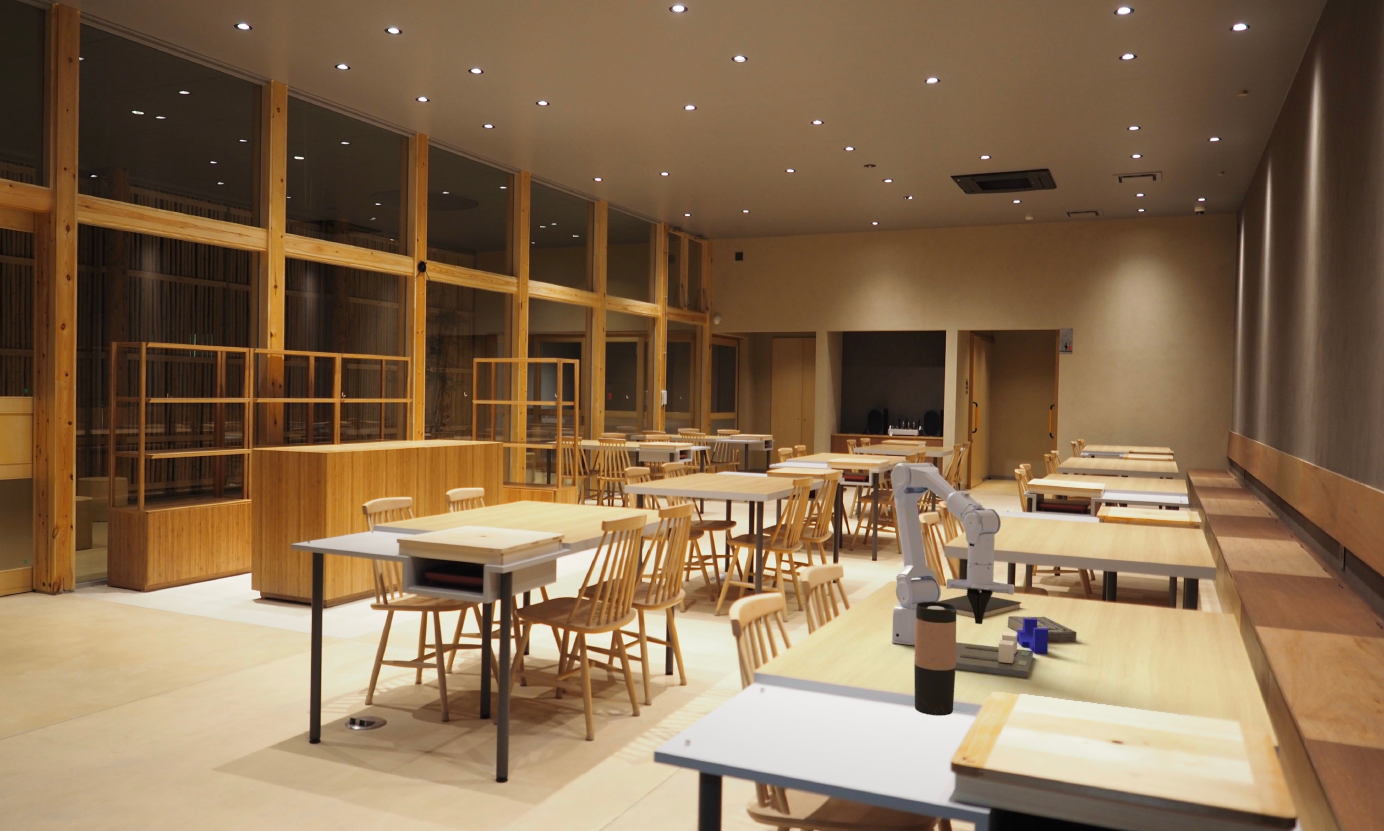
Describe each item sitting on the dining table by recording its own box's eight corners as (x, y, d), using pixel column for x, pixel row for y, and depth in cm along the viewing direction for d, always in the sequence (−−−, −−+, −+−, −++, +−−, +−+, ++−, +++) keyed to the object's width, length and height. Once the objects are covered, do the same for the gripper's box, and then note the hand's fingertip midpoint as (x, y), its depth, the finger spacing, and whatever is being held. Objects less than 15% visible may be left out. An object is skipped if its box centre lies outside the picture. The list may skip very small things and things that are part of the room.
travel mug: (908, 703, 189) (910, 601, 189) (946, 703, 190) (948, 601, 190) (920, 716, 182) (923, 610, 181) (960, 716, 182) (963, 610, 182)
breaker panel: (941, 667, 216) (942, 660, 215) (953, 648, 233) (953, 641, 233) (1027, 678, 209) (1027, 670, 208) (1032, 657, 226) (1033, 650, 226)
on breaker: (1001, 652, 223) (1002, 635, 223) (1003, 648, 227) (1003, 631, 227) (1015, 653, 222) (1015, 636, 222) (1016, 649, 226) (1017, 632, 226)
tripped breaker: (998, 661, 215) (998, 643, 215) (1000, 657, 219) (1000, 639, 219) (1012, 663, 214) (1012, 645, 214) (1013, 659, 218) (1014, 641, 218)
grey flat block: (1044, 627, 259) (1044, 616, 259) (1077, 644, 242) (1077, 631, 242) (1006, 627, 258) (1006, 615, 258) (1036, 643, 240) (1037, 631, 240)
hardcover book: (1021, 610, 282) (1021, 602, 282) (978, 620, 266) (978, 612, 266) (972, 600, 293) (972, 593, 293) (928, 610, 278) (929, 602, 278)
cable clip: (1016, 641, 242) (1017, 617, 242) (1035, 642, 241) (1035, 618, 241) (1027, 654, 230) (1028, 628, 230) (1047, 655, 229) (1048, 629, 229)
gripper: (945, 562, 218) (943, 623, 218) (1012, 568, 212) (1011, 630, 212) (949, 558, 224) (948, 616, 224) (1015, 563, 219) (1013, 623, 219)
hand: (978, 623), depth 219 cm, fingers closed
